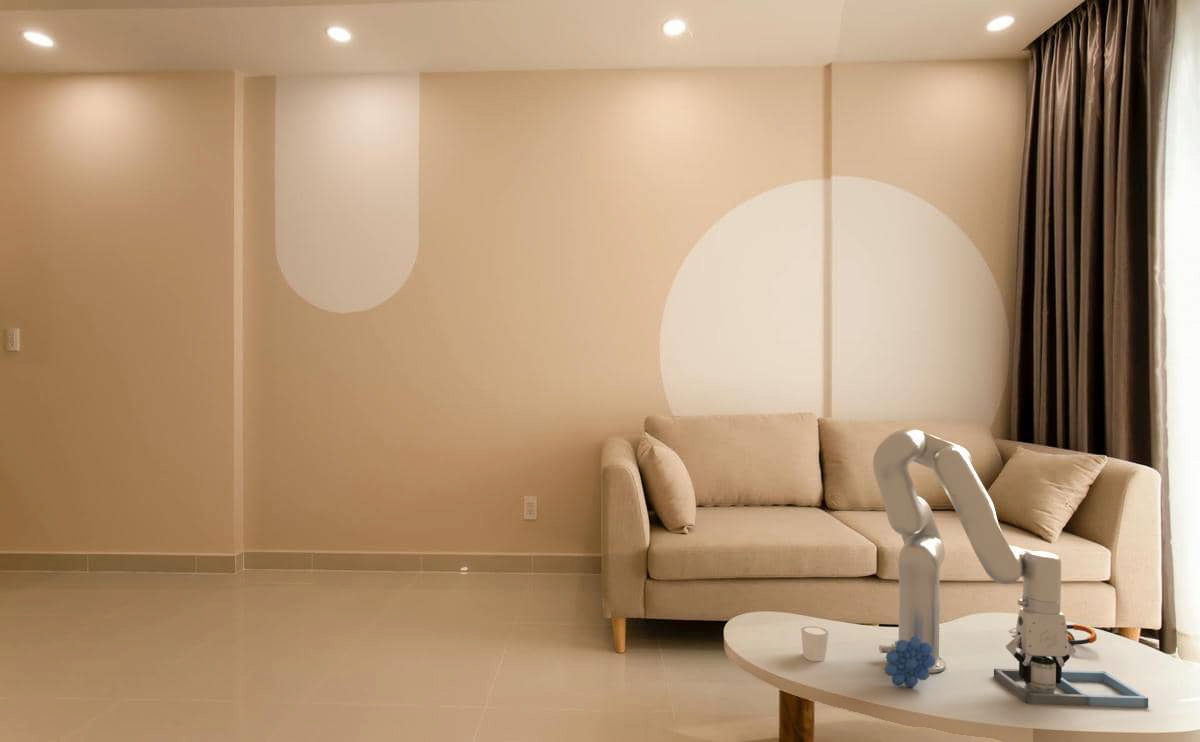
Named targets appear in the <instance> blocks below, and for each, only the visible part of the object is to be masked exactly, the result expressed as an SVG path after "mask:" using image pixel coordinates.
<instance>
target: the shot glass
mask: <svg viewBox="0 0 1200 742" xmlns="http://www.w3.org/2000/svg"><path fill="white" fill-rule="evenodd" d="M800 630H801V631H800V633H801V642H802V643H801V644H802V654H803V655H802V656H804V657H805V658H806V659H805V658H804V657H803V658H804V659H805V660H807V659H808V660H807V661H809V660H812V661H811V662H813V661H822V662H824V661H823V660H825V659H826V660H827V650H828V643H829V634H830V633H829V630H827V629H826V628H822V627H821V626H820V627H818V626H811V625H810V626H809V625H808V626H803V627H802V628H801V629H800ZM826 660H825V661H826Z"/></svg>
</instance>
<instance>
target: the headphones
mask: <svg viewBox="0 0 1200 742" xmlns="http://www.w3.org/2000/svg"><path fill="white" fill-rule="evenodd" d="M1066 625H1067V633H1068V643H1069V644H1071V645H1072V646H1073V647H1074V645H1085V644H1092V643H1094V642H1096V641H1097V638H1098V637H1097V633H1096V631H1095V630H1094V629H1092V628H1091V627H1089V626H1086V625H1082V624H1076V623H1075V624H1066ZM1013 630H1016V627H1015V628H1011V629H1009V632H1010V633H1012V634H1013V633H1014V634H1015V635H1011V637H1012V638H1015V637H1016V631H1013ZM1069 630H1074V631H1081V632H1086V633H1087V634H1089V635H1090V636H1088V637H1087V638H1086V639H1085V638H1084V639H1075V636H1074V635H1073V634H1072V633H1071V632H1070V631H1069Z"/></svg>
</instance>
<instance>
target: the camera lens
mask: <svg viewBox="0 0 1200 742" xmlns="http://www.w3.org/2000/svg"><path fill="white" fill-rule="evenodd" d="M1028 665H1029V666H1030V667H1031V682H1030V683H1027V682H1025V681H1024V684H1025V688H1026V689H1025V690H1026V691H1027V692H1029V693H1042V694H1055V691H1056V686H1057V685H1056V663H1055V662H1054V661H1053V660H1052V658H1051V657H1042V656H1032V657H1031V659H1030V662H1029V664H1028Z"/></svg>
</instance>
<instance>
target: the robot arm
mask: <svg viewBox="0 0 1200 742" xmlns="http://www.w3.org/2000/svg"><path fill="white" fill-rule="evenodd" d="M912 462H913V463H917V464H919V465H922V466H924V467H926V468H929V469H931V470H933V471H934V472H935V473H934V474H935V475H936V477H937V479H938V481H939V482H940V484H941V487H942V488H943V490H944V492H945V494H946V496H947V497H948V499H949V502H950V503H951V504H952V506H953V509H954V510H955V512H956V514H957V516H958V518H959V520H960V524H961V526H962V528H963V530H964V532H965V534H966V536H967V539H968V541H969V543H970V545H971V547H972V549H973V551H974V553H975V555H976V557H977V558H978V561H979V563H980V564H981V566H982V567H983V569H984V572H985V573H986V574H987V576H989V577H990V579H992V580H993V581H994V582H996V583H998V584H1000V585H1012V584H1014V583H1016V582H1017V581H1019V580H1020V578H1022V581H1023V582H1022V583H1023V584H1022V595H1021V597H1022V598H1021V599H1018V600H1017V604H1018V606H1022V607H1020V608H1019V610H1018V614H1017V615H1018V616H1017V620H1016V621H1017V622H1016V627H1015V628H1016V629H1015V632H1016V633H1015V635H1016V637H1013V639H1012V640H1011V641H1009V643H1007V644H1006V645H1005V648H1006V650H1008V652H1009V653H1010V654H1011V655H1012V656H1013V657H1014V658H1015V659H1016V661H1018V669H1019V675H1020V678H1021V679H1020V680H1023V681H1024V683H1025V682H1027V683H1030V682H1031V667H1030V666H1029V665H1028V664H1029V662H1030V659H1031V657H1032V656H1042V657H1048V658H1050V659H1052V660H1053V661H1054V662H1055V663H1056V683H1057V684H1060V683H1061V678H1062V669H1063V667H1065V664H1066V663H1067V662H1068V661H1069V660H1070V657H1072V656H1073V655H1074V653H1076V651H1077V650H1076V648H1075V647H1074V646H1072V645H1071V644H1069V643H1068V633H1067V631H1068V629H1067V625H1068V624H1067V620H1066V617H1065V613H1063V611H1061V598H1062V597H1061V595H1062V594H1061V593H1062V592H1061V590H1062V589H1061V587H1062V584H1061V583H1062V579H1061V578H1062V577H1061V576H1062V560H1061V558H1060V557H1059V556H1058V555H1057V554H1055V553H1051V552H1048V551H1043V550H1042V551H1041V550H1028V549H1024V548H1020V547H1017V546H1013V545H1010V544H1009V543H1008V541H1007V540H1006V537H1005V536H1004V533H1003V531H1002V529H1001V527H1000V523H999V521H998V518H997V513H996V508H995V505H994V503H993V500H992V498H991V496H990V495H989V493H988V492H987V489H986V488H985V485H983V483H982V481H981V479H980V477H979V475H978V474H977V472H976V470H975V468H974V465H973V459H972V456H971V453H970V452H969V451H968V450H967V449H966V448H965V447H962V446H961V445H958V444H956V443H953V442H950V441H948V440H944V439H942V438H941V437H937V436H934V435H932V434H929V433H926V432H924V431H921V430H919V429H915V428H904V429H901V430H897V431H894V432H893V433H891V434H890V435H888V436H886V438H884V439H883V440H882V441H881V443H880V444H879V445H878V446H877V448H876V449H875V452H874V455H873V459H872V467H873V473H874V476H875V480H876V483H877V486H878V487H877V488H878V490H879V493H880V494H879V495H880V498H881V500H882V504H883V505H884V509H885V513H886V516H887V519H888V523H889V525H890V528H891V529H893V530H894V532H895V533H896V534H898V535H900V536H901V538H902V542H903V544H904V545H902V548H901V549H900V552H899V555H898V560H897V561H898V563H897V569H898V571H897V572H898V585H899V586H898V640H894V643H892V644H891V645H886V644H880V645H879V646H878V650H879V652H880V654H887V653H888V652H889V651H890V650H896V647H895V645H896V643H897V642H898V641H899V640H906V641H907V642H909V640H910V639H911V638H912V637H919V638H920V639H921V642H922V643H929V644H931V646H932V652H931V653H930V654H929V655H933V656H934V658H935V664H934V665H933V666H932V667H931V668H928V669H929V672H930V674H932V673H933V674H934V673H939V672H943V671H944V670H945V669H946V661H945V660H944V659H943V658H942V657H940V621H941V620H940V617H941V614H940V612H941V611H940V610H941V609H940V608H941V607H940V605H941V601H940V598H941V596H940V595H941V593H940V591H941V587H940V586H941V585H940V571H941V566H942V565H943V563H944V561H945V555H946V553H945V552H946V551H945V547H944V544H943V540H942V536H941V534H940V532H939V528H938V526H937V522H936V519H935V517H934V513H933V511H932V509H931V507H930V505H929V503H928V502H927V501H926V499H924V498H922V497H921V496H919V495H918V494H917V491H916V488H915V485H914V482H913V479H912V476H911V474H910V472H909V464H911V463H912ZM1017 649H1019V651H1018V650H1017Z"/></svg>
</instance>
